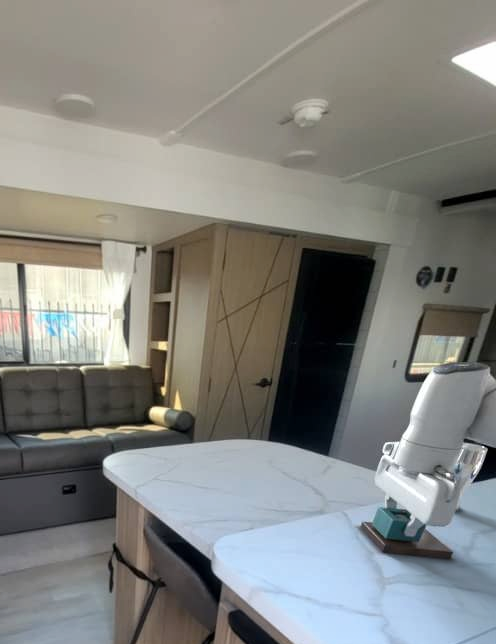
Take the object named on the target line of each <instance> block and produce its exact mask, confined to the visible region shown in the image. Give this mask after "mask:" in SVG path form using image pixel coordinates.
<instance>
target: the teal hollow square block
mask: <svg viewBox="0 0 496 644" xmlns="http://www.w3.org/2000/svg"><path fill="white" fill-rule="evenodd" d="M397 514H399V515H404V516H406V517H407V519H404V518H397V517H396V516H395V515H397ZM410 517H411V513H410V512H408V511H407V510H406V509H405V508H396V509H394V508H385V507H383V506H378V507H377V510H376V512H375V514H374V518H373V520H372V522H373V523H372V525H373V526H374V527H375V528H376V529H377V530H378V531H379V532H380V533H381V534H382V535H383V536H384V537H385V538H386V539H394V540H404V541H414V542H419V541H420V538H421V536H422V534H423V532H424V529H426V527H427V525H425V524H424V525H423V526H421V527H420V528H419V529H418V530H417V533H416V535H415V536H413V537H411V536H406V535H405V534H404V533H403V532H402V529H403V526H404V524H408V523H409V522H410V521H411V520H412V519H410Z"/></svg>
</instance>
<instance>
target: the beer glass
mask: <svg viewBox="0 0 496 644" xmlns="http://www.w3.org/2000/svg"><path fill="white" fill-rule="evenodd" d="M487 452H488V448H487V447H485V446H483V445H479V444H475V443H470V442H463V446H462V449H461V451H460V453H459V456H458V458H457V460H456V463H455V465H454V467H453V469H452V473H454V474H456V475H457V480H458V483H459V484H460V497H459V500H458V504H457V507H456V510H455V512H457V511H459V510H460V506H461V501H462V498H463V497H464V494H465V492H466V491H467V490H468V488H469V487H470V485H471V484H472V483H473V481H474V480H475V478H476V477H477V475H478V474H479V472H480V470H481V468H482V466H483V463H484V461H485V458H486V455H487Z"/></svg>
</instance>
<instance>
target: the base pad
mask: <svg viewBox="0 0 496 644" xmlns="http://www.w3.org/2000/svg"><path fill="white" fill-rule="evenodd" d="M395 516H396V517H397V518H404V519H407V517H406V516H404V515H399V514H397V515H395ZM372 523H373V521H372V522H370V521H361V524H360V527H359V528H360V529H361V531H363V532H364V534H365V535H366V536H367V537H368V538H369V539H370V540H371V541H372V542H373V544H374V545H375V546H377V548H378V549H379V550H380V551H381V552H382V553H389V554H399V555H410V556H419V557H428V558H429V557H430V558H437V559H438V558H439V559H449V560H451V558H452V556H453V554H454V551H453V550H452V549H451V548H449V547H448V546H447V545H446V544H444V543H443V542H442V541H441V540H439V539H438V538H437V537H436V536H434V535H433V534H432V533H431V532H430V531H429V530H427V529H426V528H425V529H424V532H423V534H422V536H421V538H420V541H419V542H414V541H404V540H394V539H386V538H385V537H384V536H383V535H382V534H381V533H380V532H379V531H378V530H377V529H376V528H375V527H374V526H373V525H372Z"/></svg>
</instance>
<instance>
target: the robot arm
mask: <svg viewBox="0 0 496 644" xmlns="http://www.w3.org/2000/svg"><path fill="white" fill-rule="evenodd" d="M409 417H410V418H409V419H410V420H409V424H408V426H407V428H406V430H405V431H404V432H403V433H402V436H401V438H400V441H389V442H384V444H383V447H382V453H383V455H382V456H381V458H380V460H379V463H378V466H377V469H376V472H375V476H374V482H375V483H374V485H375V486H376V487H377V488H378V489H379V490H381V491H382V492H383V493H385V496H384V508H394V509H398V508H397V507H398V505H399V506H401V507H402V509H405V510H407V511H408V512H410V513H411V517H410V519H412V520H411V521H410V522H409V523H408V524H404V526H403V529H402V532H403V533H404V534H405V535H406V536H411V537H413V536H415V535H416V533H417V530H418V529H419V528H420V527H421V526H423V525H424V524H425V525H426V526H430V527H437V528H438V527H441V528H443V527H446V526H448V525H450V524H451V522H452V520H453V518H454V515H455V512H456V511H455V510H456V507H457V504H458V500H459V497H460V484H459V483H458V480H457V475H456V474H454V473H452V469H453V467H454V465H455V463H456V460H457V458H458V456H459V453H460V451H461V449H462V446H463V443H464V440H465V439H468V440H469V441H470V440H471V441H474V442H475V443H478V444H481V445H485V446H488V447H492V448H495V449H496V379H495V377H494V376H493V375H492V374H491V367H490V366H489V365H488V364H485V363H482V362H474V361H464V362H463V361H462V362H461V361H455V362H447V363H443V364H440V365H438V366H435V367H434V368H432V370H431V371H430V372H429V373H428V374H427V376H426V378H425V380H424V381H423V382H422V384H421V386H420V389H419V390H418V393H417V395H416V398H415V400H414V403H413V405H412V408H411V410H410V415H409Z"/></svg>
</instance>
